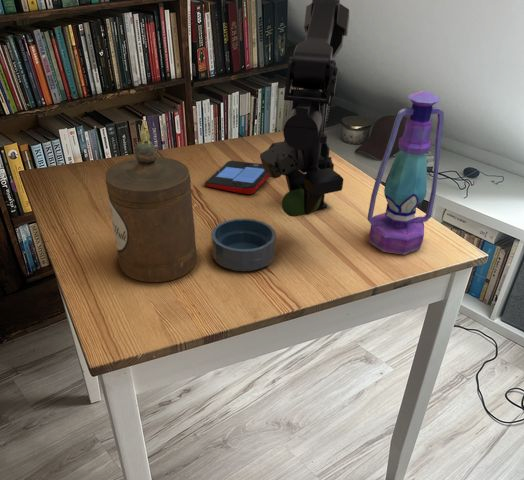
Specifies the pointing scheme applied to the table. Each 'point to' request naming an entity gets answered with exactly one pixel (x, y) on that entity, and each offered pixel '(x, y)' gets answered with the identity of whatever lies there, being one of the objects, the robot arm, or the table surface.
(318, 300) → the table surface
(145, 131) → the vegetable
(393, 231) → the lantern
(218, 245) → the bowl
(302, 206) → the green rounded cylinder
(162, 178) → the wooden container
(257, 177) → the game console
